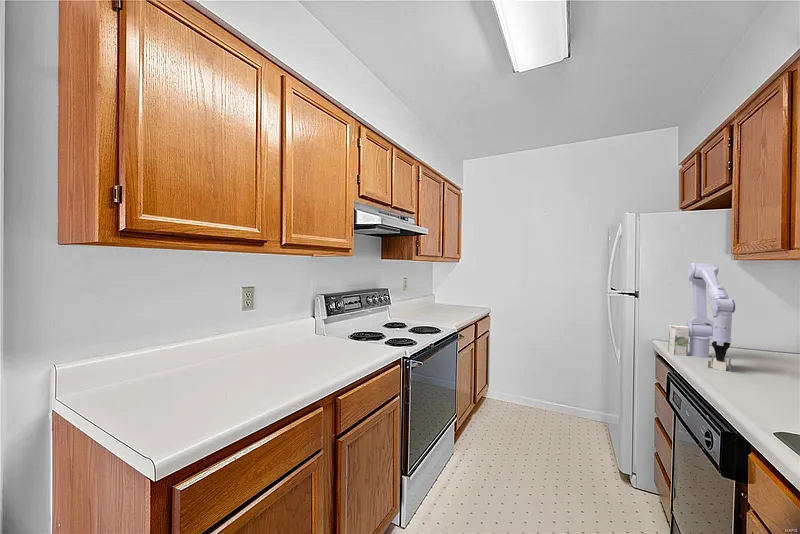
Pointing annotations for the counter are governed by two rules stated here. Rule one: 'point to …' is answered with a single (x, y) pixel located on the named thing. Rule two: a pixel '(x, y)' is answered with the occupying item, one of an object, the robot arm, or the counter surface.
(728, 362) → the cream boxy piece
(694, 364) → the counter surface
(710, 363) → the socket
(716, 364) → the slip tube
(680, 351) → the syrup box
